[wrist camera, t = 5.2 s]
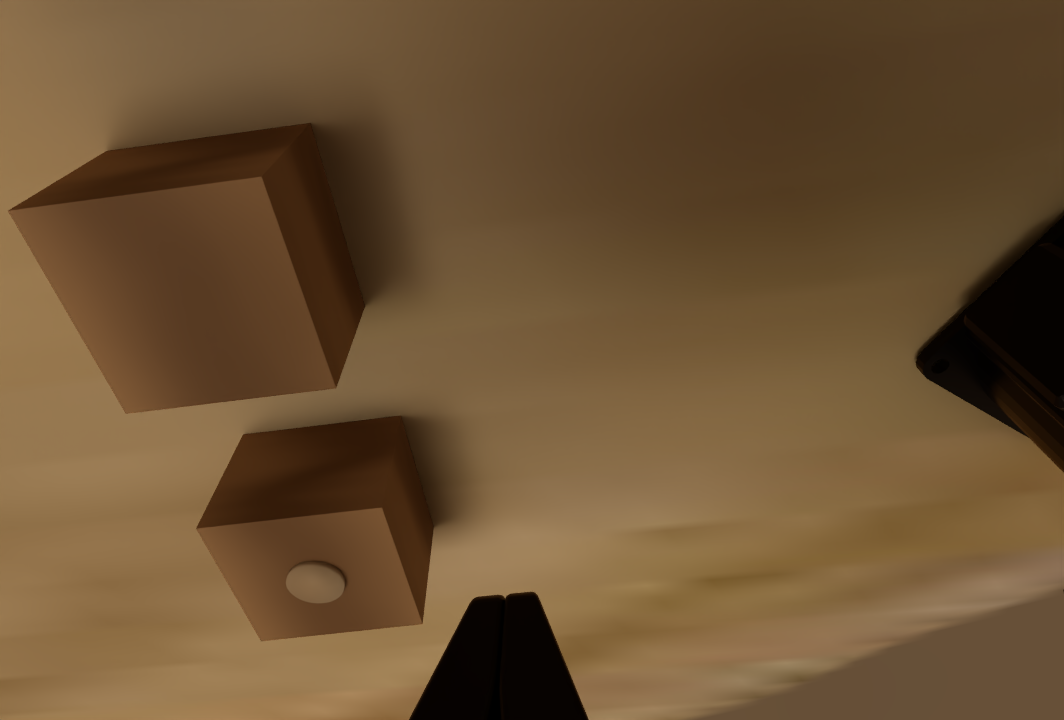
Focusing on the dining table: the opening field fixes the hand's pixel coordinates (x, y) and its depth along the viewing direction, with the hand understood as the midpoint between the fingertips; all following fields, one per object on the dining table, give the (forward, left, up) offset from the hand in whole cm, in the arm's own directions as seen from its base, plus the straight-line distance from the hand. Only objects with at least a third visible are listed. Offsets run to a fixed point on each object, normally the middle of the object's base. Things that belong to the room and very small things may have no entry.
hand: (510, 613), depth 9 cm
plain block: (+6, +3, -11) cm, 13 cm away
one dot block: (+1, +10, -11) cm, 15 cm away
